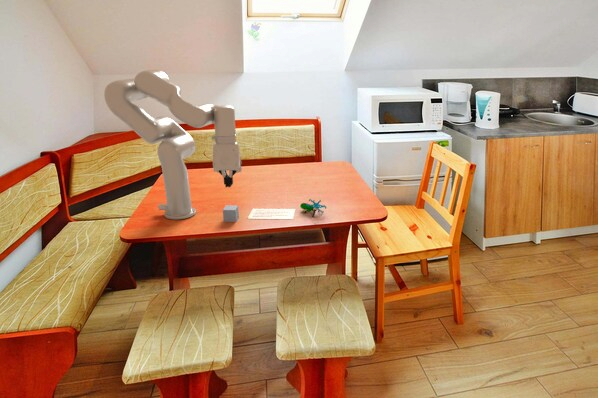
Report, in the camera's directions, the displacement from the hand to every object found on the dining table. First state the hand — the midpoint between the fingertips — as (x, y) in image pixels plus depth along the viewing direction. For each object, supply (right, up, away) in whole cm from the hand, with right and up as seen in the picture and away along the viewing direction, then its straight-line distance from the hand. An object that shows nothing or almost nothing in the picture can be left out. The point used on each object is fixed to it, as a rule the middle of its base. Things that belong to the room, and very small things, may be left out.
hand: (228, 186), depth 163 cm
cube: (0, -13, +5) cm, 14 cm away
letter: (+16, -11, +9) cm, 22 cm away
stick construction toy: (+32, -11, +9) cm, 35 cm away
